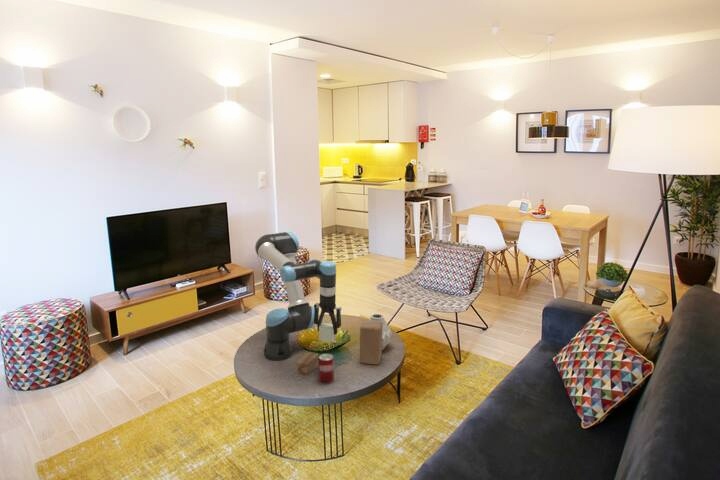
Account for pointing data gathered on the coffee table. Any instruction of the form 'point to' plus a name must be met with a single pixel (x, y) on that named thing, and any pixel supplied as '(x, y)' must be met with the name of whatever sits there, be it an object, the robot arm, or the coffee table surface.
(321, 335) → the sage block
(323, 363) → the soda can
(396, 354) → the coffee table surface
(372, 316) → the vase
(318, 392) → the coffee table surface
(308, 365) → the walnut block
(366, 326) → the wooden block
